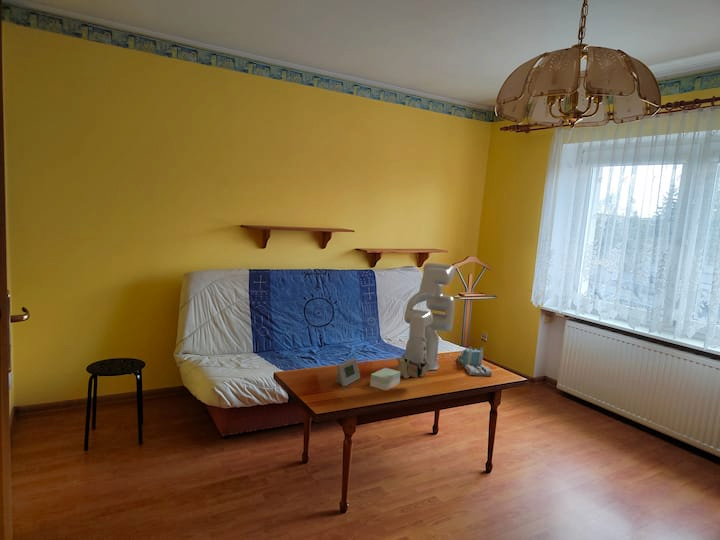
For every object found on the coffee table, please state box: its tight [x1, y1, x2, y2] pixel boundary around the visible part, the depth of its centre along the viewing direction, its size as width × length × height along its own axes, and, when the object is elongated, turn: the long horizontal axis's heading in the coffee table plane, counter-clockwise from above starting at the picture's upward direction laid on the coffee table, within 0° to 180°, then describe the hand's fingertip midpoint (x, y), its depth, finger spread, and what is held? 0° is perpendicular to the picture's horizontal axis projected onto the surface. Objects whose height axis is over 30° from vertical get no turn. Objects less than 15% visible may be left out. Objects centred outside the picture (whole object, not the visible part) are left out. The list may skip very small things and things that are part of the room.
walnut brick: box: [407, 361, 419, 378], centre depth 232 cm, size 5×5×6 cm
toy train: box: [396, 356, 429, 379], centre depth 250 cm, size 6×17×10 cm, turn 113°
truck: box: [456, 345, 493, 377], centre depth 270 cm, size 12×29×15 cm, turn 4°
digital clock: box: [336, 357, 361, 388], centre depth 235 cm, size 16×9×11 cm, turn 138°
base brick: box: [369, 367, 401, 391], centre depth 235 cm, size 14×9×6 cm, turn 146°
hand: (414, 373), depth 232 cm, fingers closed on walnut brick, 5 cm apart
